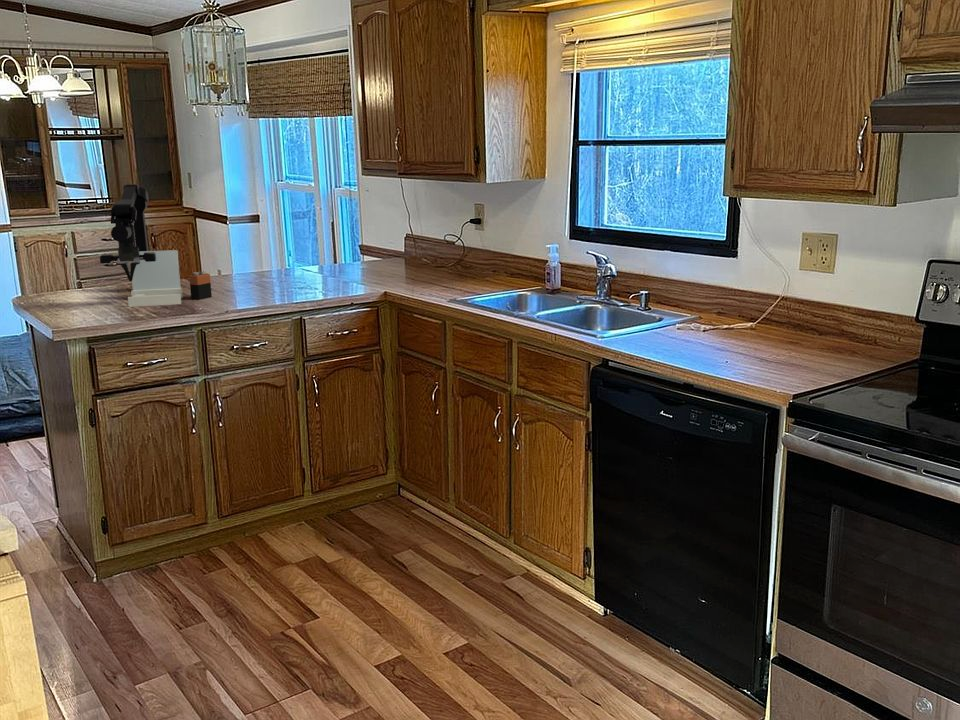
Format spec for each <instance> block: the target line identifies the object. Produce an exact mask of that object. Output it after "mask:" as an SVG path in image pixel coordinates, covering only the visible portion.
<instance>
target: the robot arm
mask: <svg viewBox="0 0 960 720" xmlns="http://www.w3.org/2000/svg"><path fill="white" fill-rule="evenodd" d="M149 200H150V198H149V193H148V191H147V189H146V188H143V187H141V186H139V184H136V183H135V184H133V183H132V184H130V183H126V184H123V189H122V194H121V197H120V200H117V201H114V203H113V204H112V207H111V208H110V209H111V210H110V224H111V225H112V224H113V225H115V226H113V227H112V228H111V230H110V236H111V238H112V239H113V241H115V242H118V243H117V244H118V250H117V252H118V253H117V254H118V255H113V253H103V254H101V255H100V256H99V263H100V264H110V263H111V262H116V261H117V265H118V266H120V267H122V269H123V270H124V273H125V275H126V276H127V278H128V281H129V282H132V279H133V275H134V271H135V268H136V265H137V264H140V260H145V261H146V262H154V261H156V254H155V253H154V252H147V253H144V255H139V251H150V249H149V242H148V234H147V225H146V224H147V223H146V215H145V212H146V210H147V208H148V206H149V202H150V201H149ZM130 261H132V262H131V263H130ZM129 263H130V267H129Z"/></svg>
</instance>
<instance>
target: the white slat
mask: <svg viewBox="0 0 960 720" xmlns="http://www.w3.org/2000/svg"><path fill="white" fill-rule="evenodd" d="M130 292H131V296H127V303H128V307H129V308H130V307H131V308H132V307H133V308H134V307H151V306H152V307H154V306H169V305H170V306H171V305H182V299H183V287H180V288H175V289H155V290H134V291H133V290H131V291H130ZM138 294H144V296H135V295H138Z"/></svg>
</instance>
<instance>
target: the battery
mask: <svg viewBox="0 0 960 720" xmlns="http://www.w3.org/2000/svg"><path fill="white" fill-rule="evenodd" d="M188 278H189V289H190V299H191V300H204V299H209V298H211V297H212V285H211V283H212V282H211V274H210V273H206V272H205V271H200V272H198V271H197V272H193V273H192V274H190V275H189V277H188Z"/></svg>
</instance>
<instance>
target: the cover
mask: <svg viewBox="0 0 960 720" xmlns="http://www.w3.org/2000/svg"><path fill="white" fill-rule="evenodd" d="M147 252H154V253H155V254H156V261H154V262H146V261H145V260H140V264H137V265H136V268H135V271H134V275H133V279H132V281H131V284H132V286H131V287H132V291H134V290H155V289H175V288H181V277H180V265H179V263H180V262H179V253H178V249H171V250H169V249H168V250H149V251H139V255H144V253H147ZM131 262H132V261H129V263H131Z"/></svg>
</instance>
